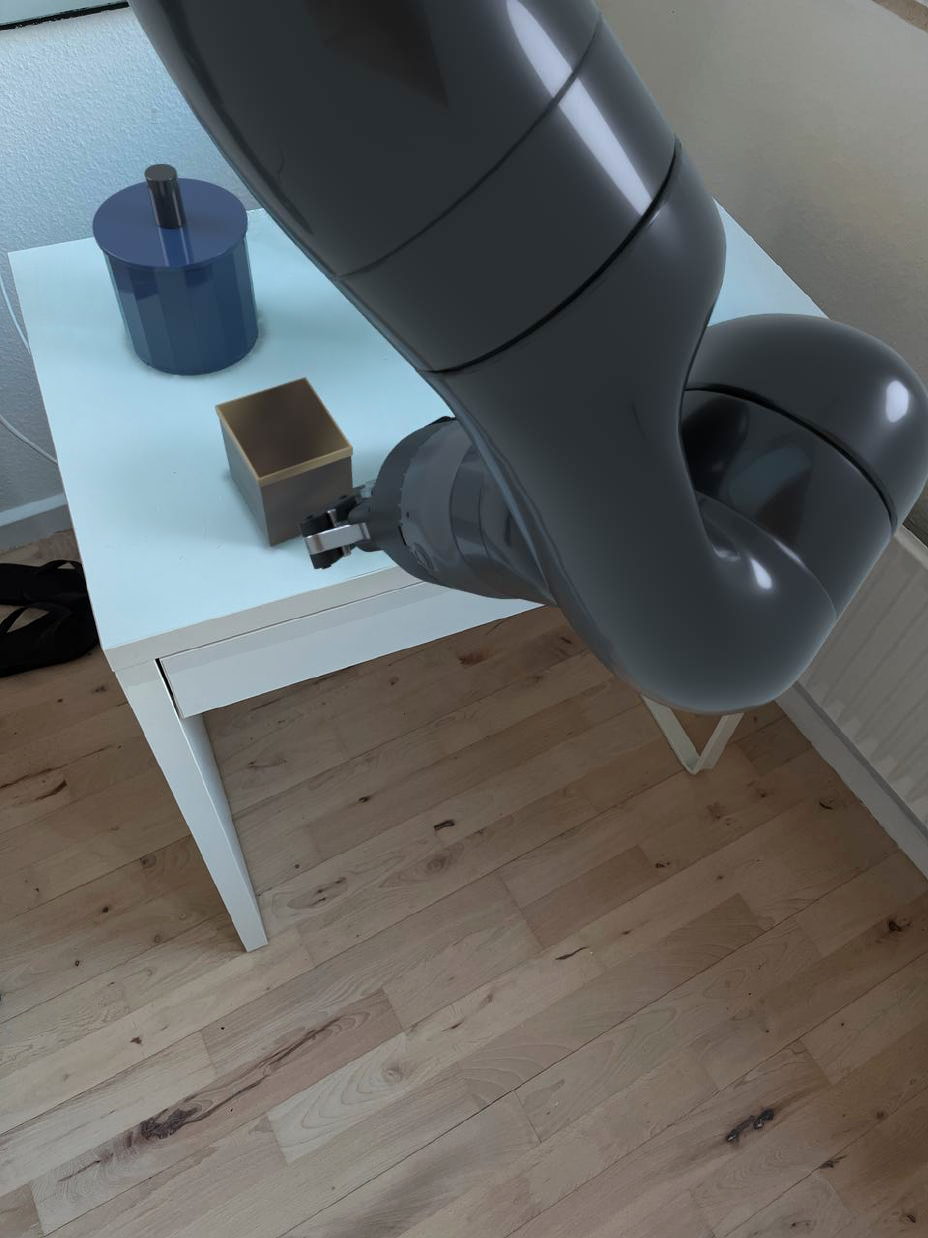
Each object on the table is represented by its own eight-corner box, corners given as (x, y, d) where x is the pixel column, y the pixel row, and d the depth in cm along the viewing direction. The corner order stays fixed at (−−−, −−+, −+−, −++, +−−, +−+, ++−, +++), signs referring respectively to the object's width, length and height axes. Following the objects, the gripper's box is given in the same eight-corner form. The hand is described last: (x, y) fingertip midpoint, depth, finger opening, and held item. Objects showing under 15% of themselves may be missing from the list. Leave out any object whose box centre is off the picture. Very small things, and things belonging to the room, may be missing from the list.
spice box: (269, 548, 70) (257, 480, 64) (229, 476, 74) (214, 405, 68) (356, 516, 73) (353, 447, 67) (312, 447, 77) (305, 376, 70)
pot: (154, 390, 79) (125, 284, 70) (112, 312, 84) (80, 204, 76) (278, 352, 83) (265, 247, 74) (231, 280, 88) (213, 173, 79)
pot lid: (123, 295, 71) (106, 234, 66) (76, 210, 76) (57, 148, 72) (272, 255, 74) (265, 195, 70) (217, 177, 80) (207, 117, 76)
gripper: (592, 373, 41) (446, 406, 57) (312, 471, 37) (239, 477, 53) (636, 535, 43) (482, 523, 59) (375, 646, 39) (286, 601, 54)
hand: (367, 501), depth 56 cm, fingers closed
